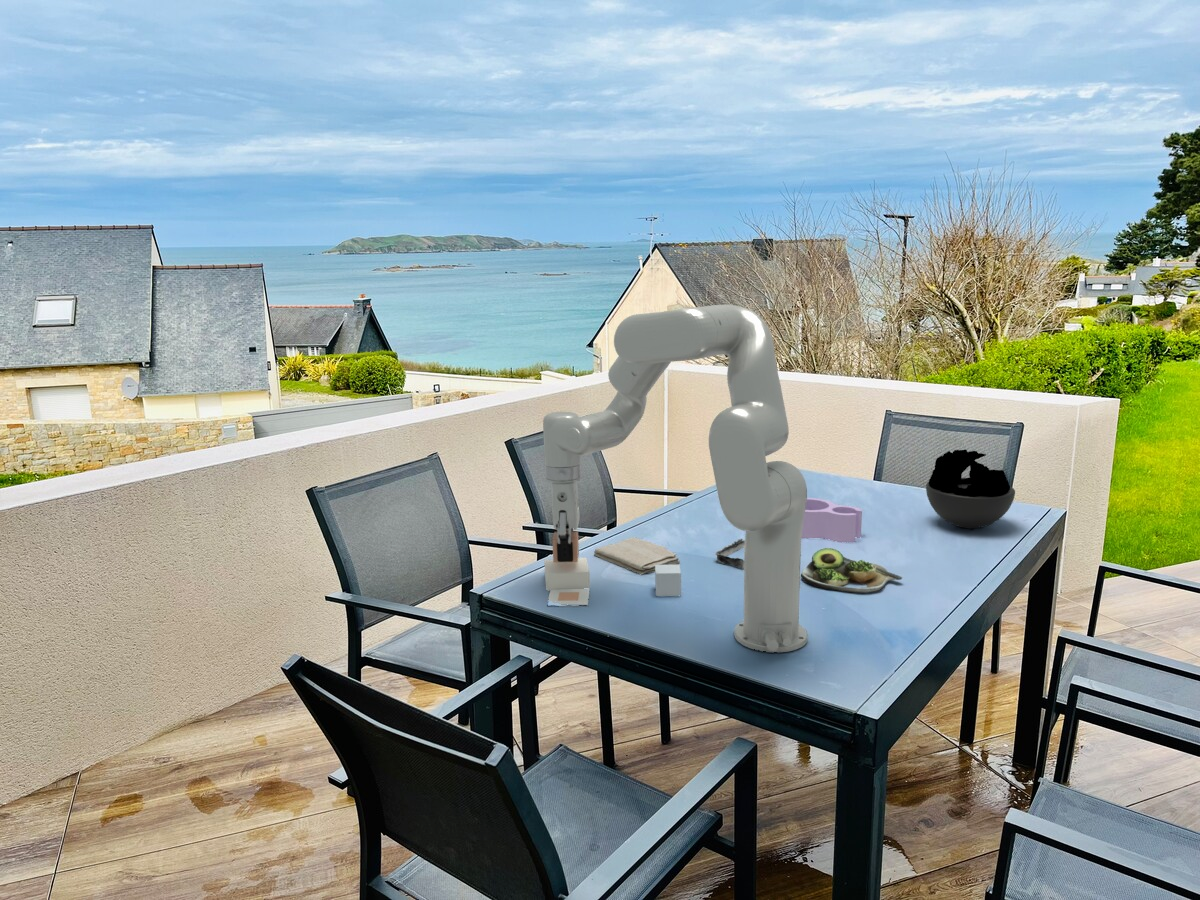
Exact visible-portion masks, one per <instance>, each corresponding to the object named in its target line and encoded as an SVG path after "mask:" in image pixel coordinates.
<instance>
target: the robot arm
mask: <svg viewBox="0 0 1200 900" xmlns="http://www.w3.org/2000/svg"><path fill="white" fill-rule="evenodd" d="M613 346H614V349H615V352H616V354H617V355H618V356H617V358H616V359H615V360H614V362H613V364H612V365H611V366H610V368H609V370H608V380H609V382H610V385H612V387H613V389H615V390H616V391H617V392H616V394H615V396H614V398H613V399H612V400H611V401H610V403H609V404H608V406H606V408H605V409H604V410H603V411H599V412H595V413H594V412H593V413H592V414H591V413H590V414H587V415H582V416H579V415H578V414H577V413H576V412H573V411H553V412H550V413H547V414H546V415H545V416H544V417H543V419H542V429H543V430H542V431H543V432H542V433H543V454H544V479H545V482H547V483H550V488H551V489H550V491H551V495H550V496H551V513H552V523H553V524H552V525H553V530H556V532H557V537H558V543H557V560H558V562H572V561H573V542H571V532H574V531H575V530H576V531H577V529H578V528H579V523H580V509H579V508H580V506H579V505H580V503H579V488H578V487H579V486H578V482H580V481H582V478H583V476H582V474H583V473H582V456H587V455H591V454H594V453H599V452H600V451H604V450H607V449H611V448H614V447H617V446H619V445H620V444H621V443H623V442H625V440H626V439H627V438H628V437H629V435H630V434H632V432H633V431H634V429H635V428H636V427H637V425H638V424H639V422H640V421H641V420H642V418H643V416H644V414H645V410H646V406H647V396H648V393H650V391H651V390H652V389H653V388H654V386H655V384H656V383H657V382H658V380H659V378H660V377H661V376H662V375H663V373H664V372H665V371H666V369H667V368H668V367H669V366H670V364H671V363H673V362H683V361H695V360H700V359H704V358H705V359H706V358H711V357H715V356H719V355H725V356H727V357H728V365H727V372H726V373H727V374H726V375H727V376H726V377H727V387H728V391H729V395H730V403H731V404H730V405H731V406H730V407H727V408H724V410H722V411H721V412H719V413H718V414H717V415H716V416H715V418H714V419H713V421H712V423H711V426H710V428H709V434H708V449H709V454H710V455H709V456H710V461H711V466H712V471H713V476H714V481H715V486H716V491H717V495H718V496H717V497H718V501H719V505H720V508H721V512H722V513H723V515H724V517H725V518H726V520H727V521H728V522H729V523H730V524H731V525H732V526H733V527H734V528H735V529H736V528H737V530H740V531H744V532H745V534H744V535H745V536H744V540H745V548H744V551H743V552H744V555H743V558H744V559H743V560H744V569H743V570H744V571H743V620H742V621H741V622H739V623H738V624H737V625H736V626H735V627H734V637H735V639H736V641H737V642H738V643H739V644H740V645H742V646H743V647H746V648H748V649H751V650H754V649H755V650H754V651H758V650H760V651H759V652H763V651H766V652H765V653H774V652H777V653H787V652H792V651H795V650H799V649H801V648H802V647H804V646H805V645H806V644H807V643H808V631H807V630H806V628H804V627H803V626H802V625H801V624H800V621H799V620H800V594H801V593H800V588H801V587H800V586H801V555H802V538H801V537H802V526H803V519H804V514H805V508H806V502H807V498H808V486H807V482H806V479H805V477H804V475H803V473H802V472H801V471H800V470H799V469H798V468H797V467H796V466H795V465H794V464H791V463H790V462H787V461H782V460H772V461H769V462H767V458H766V457H768V456H770V455H772V454H773V453H776V452H778V451H780V450H781V449H782V448H783V447H784V446H785V445H786V443H787V441H788V439H789V434H790V433H789V431H790V430H789V422H788V418H787V412H786V407H785V402H784V401H785V400H784V397H783V391H782V387H781V386H782V385H781V380H780V377H779V372H778V367H777V359H776V358H777V357H776V353H775V352H776V351H775V346H774V341H773V337H772V334H771V331H770V328H769V326H768V325H767V323H766V322H765V321H764V320H763V318H762V317H761V316H760V315H758V314H757V313H756V312H754V311H752V310H751V309H750V308H746V307H743V306H740V305H739V306H738V305H734V304H733V305H732V304H713V305H706V306H696V307H687V308H680V309H679V308H678V309H672V310H666V311H657V312H647V313H637V314H631V315H629V316H626V317H625V318H624V319H623V320H622V321H621V322H620V323H619V325H618V326H617V328H616V329H615V333H614V336H613ZM566 532H568V533H566Z"/></svg>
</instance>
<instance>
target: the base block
mask: <svg viewBox="0 0 1200 900" xmlns="http://www.w3.org/2000/svg"><path fill="white" fill-rule="evenodd" d="M590 580H591V579H590V568H589V564H588V560H587V557H578V562H553V558H550V559H547V558H546V559H544V581H545V590H551V589H584V588H590V589H591V582H590Z"/></svg>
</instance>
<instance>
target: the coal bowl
mask: <svg viewBox="0 0 1200 900" xmlns="http://www.w3.org/2000/svg"><path fill="white" fill-rule="evenodd" d="M986 456H987V454H986V453H983V452H981V453H979V452H978V451H977V450H971V451H968V450H967V449H954V450H953V451H952V452H951V451H950V450H948V451H946V452H945V453H943V455H940V456H938V457H937V458H936V459H935V462H934V469H933V470H932V473H931V476H930V477H929V480H928V481H927V483H926V485H925V491H926V497H927V500H928V502H929V504H930V506H931V507H932V509H933V510H934V512H935V513H936V514H937V515H938V516H939V517H940V518H941V519H943V520H944V521H946V522H947V523H949V524H951V525H954V526H957V527H960V528H966V529H977V528H984V527H987V526H989V525H991V524H995V522H997V521H999V520H1000V519H1002V518H1003V516H1005V514H1006V513H1007V512H1008V511H1009V509H1010V508H1011V506H1012V504H1013V503H1014V500H1015V496H1016V490H1015V488H1013V487H1012V486H1011V485H1010V483H1009V480H1008V478H1007V475H1006V473H1005V470H1003V469H990V468H989V467H988V465H987V466H986V465H984V464H983V463H980V462H978V461H976V460H979V459H981V458H983V457H986ZM968 468H969V469H970V470H969V473H968V474H969V475H968V476H969V477H962V474H963V473H964V472H965V471H966V470H967V469H968Z"/></svg>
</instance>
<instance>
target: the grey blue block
mask: <svg viewBox="0 0 1200 900" xmlns="http://www.w3.org/2000/svg"><path fill="white" fill-rule="evenodd" d="M654 575H655V577H654V581H655V582H654V583H655V584H654V587H655V589H656V590H655V597H656V596H679V595H680V596H679V597H682V571H681V564H677V565H655V572H654Z"/></svg>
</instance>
